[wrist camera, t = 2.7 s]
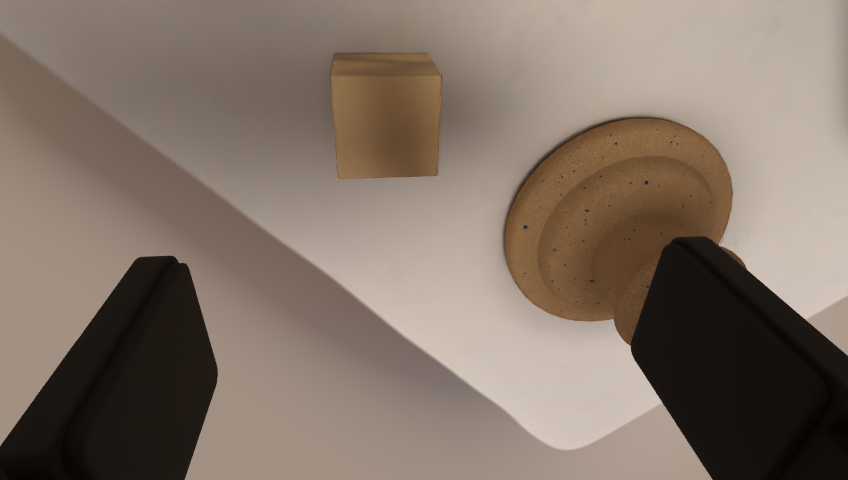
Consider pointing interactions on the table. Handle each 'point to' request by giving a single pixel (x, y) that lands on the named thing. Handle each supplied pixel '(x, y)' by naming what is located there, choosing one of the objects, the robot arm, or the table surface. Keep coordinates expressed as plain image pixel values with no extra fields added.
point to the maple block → (386, 114)
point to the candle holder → (613, 217)
